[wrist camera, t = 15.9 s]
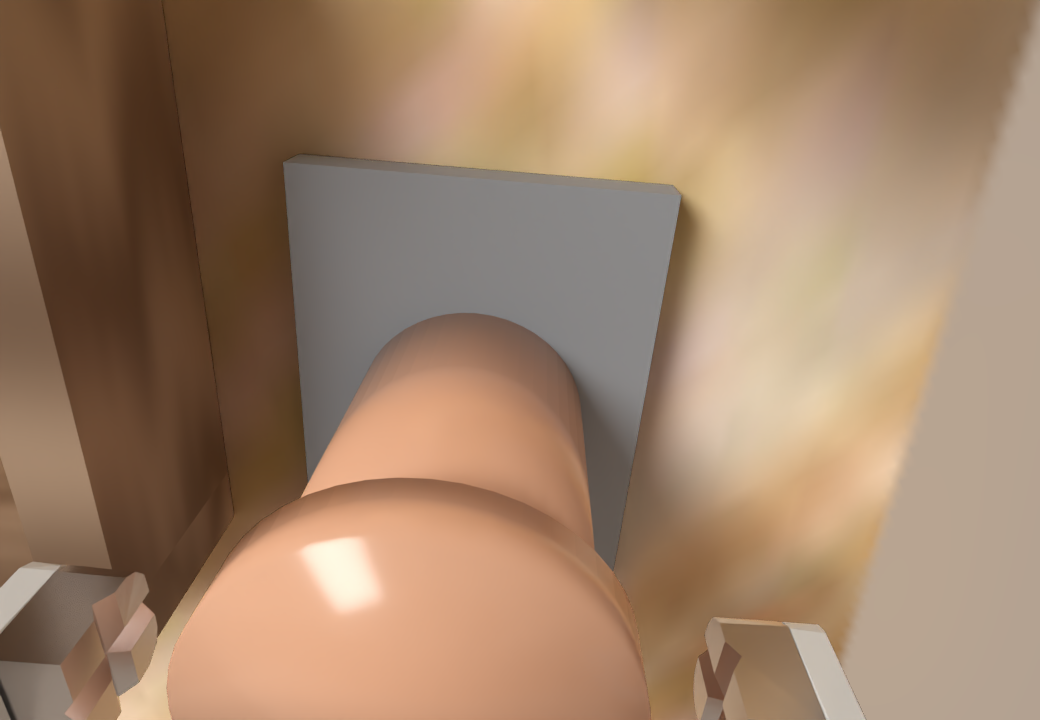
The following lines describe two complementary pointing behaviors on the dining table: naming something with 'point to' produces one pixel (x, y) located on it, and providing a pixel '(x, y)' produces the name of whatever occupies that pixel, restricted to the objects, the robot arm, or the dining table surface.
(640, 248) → the slate mat
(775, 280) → the dining table surface
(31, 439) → the frame
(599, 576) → the peach drawer knob
